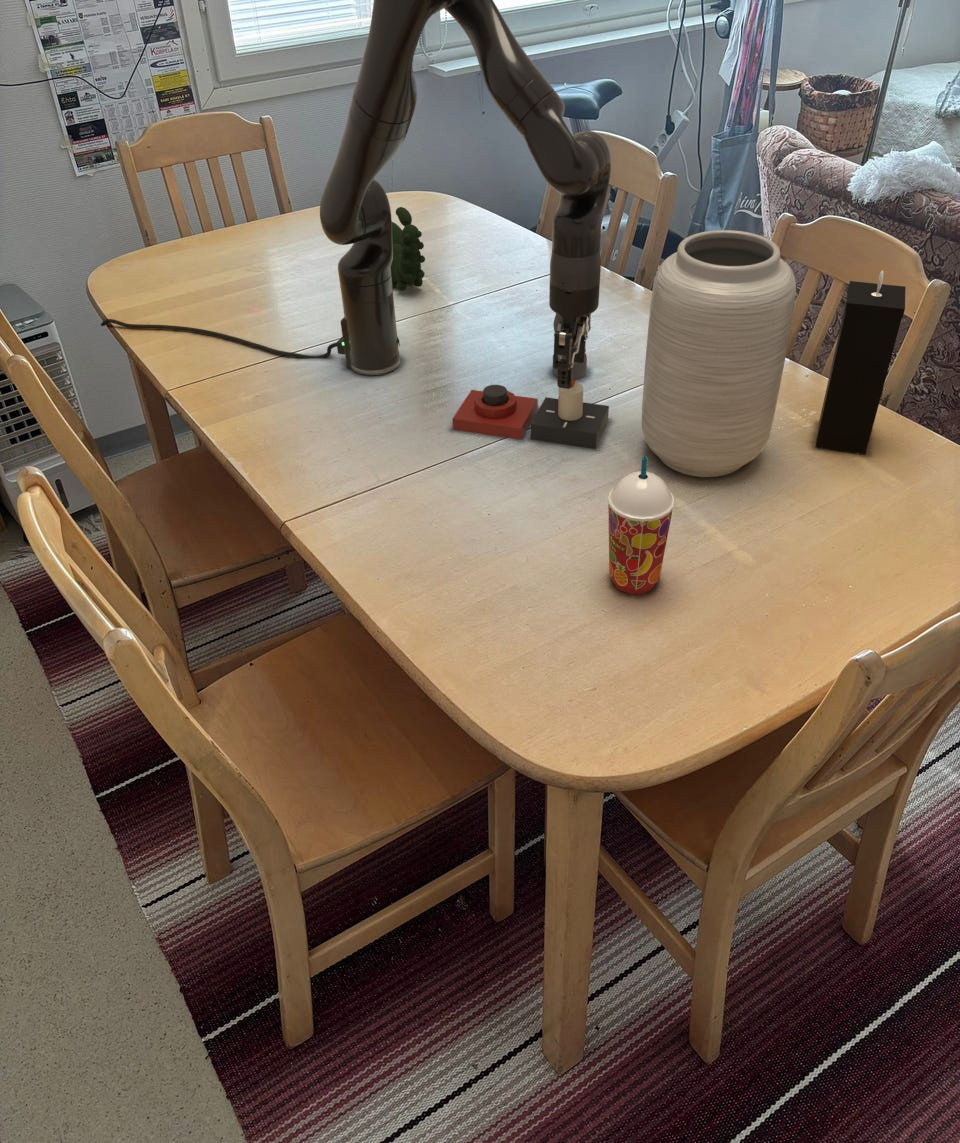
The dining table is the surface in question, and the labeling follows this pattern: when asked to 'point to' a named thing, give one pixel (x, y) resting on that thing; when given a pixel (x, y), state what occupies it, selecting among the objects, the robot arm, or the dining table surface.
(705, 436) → the vase
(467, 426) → the button housing
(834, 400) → the black pillar candle
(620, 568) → the smoothie
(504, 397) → the button
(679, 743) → the dining table surface
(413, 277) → the dark green lumpy figure
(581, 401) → the knob
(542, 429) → the control panel
